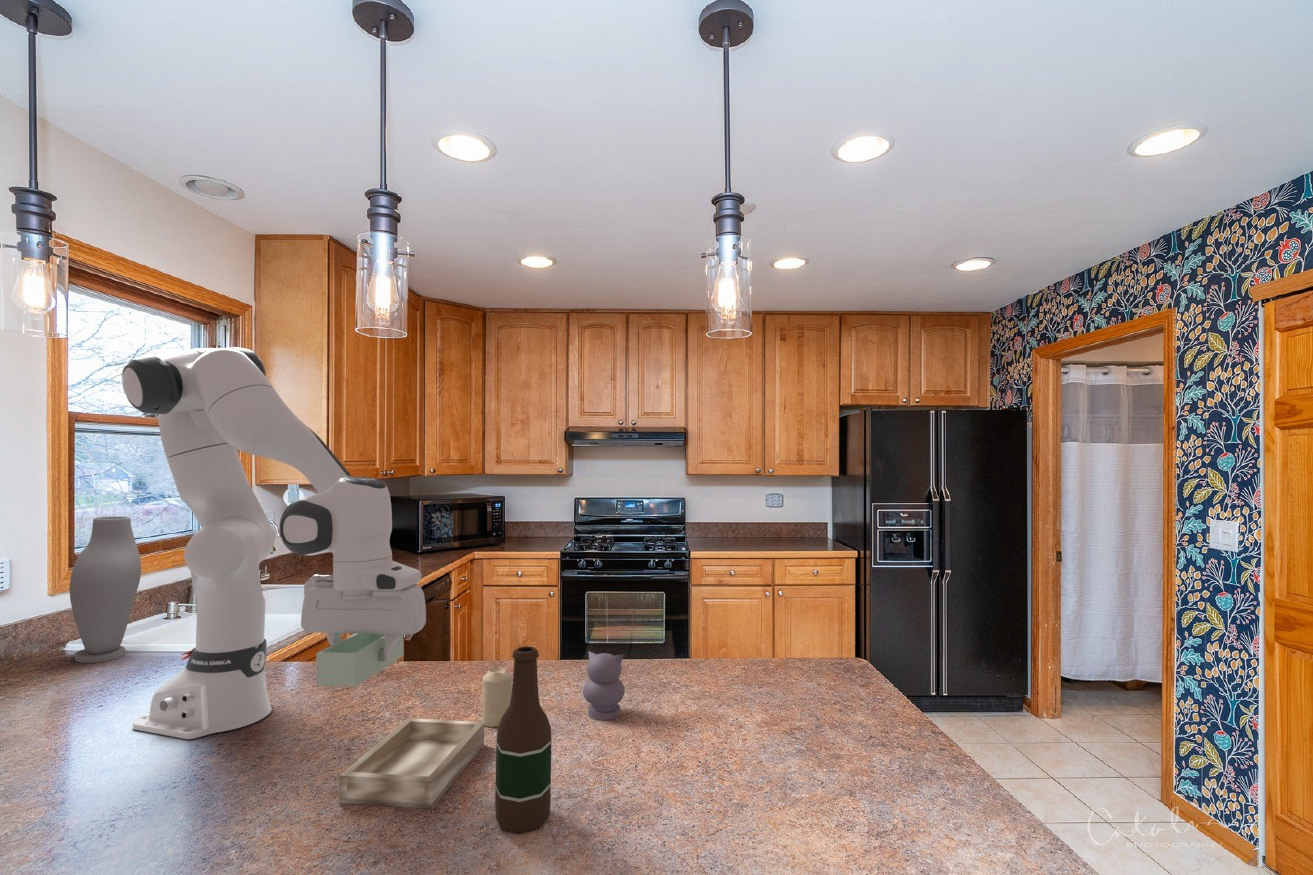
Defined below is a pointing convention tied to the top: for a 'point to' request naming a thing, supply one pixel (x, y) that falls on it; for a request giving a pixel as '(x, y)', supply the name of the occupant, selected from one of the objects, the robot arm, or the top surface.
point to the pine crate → (412, 764)
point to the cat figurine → (604, 686)
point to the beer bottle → (523, 752)
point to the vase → (105, 588)
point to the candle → (496, 696)
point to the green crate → (353, 660)
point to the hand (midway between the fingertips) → (363, 659)
